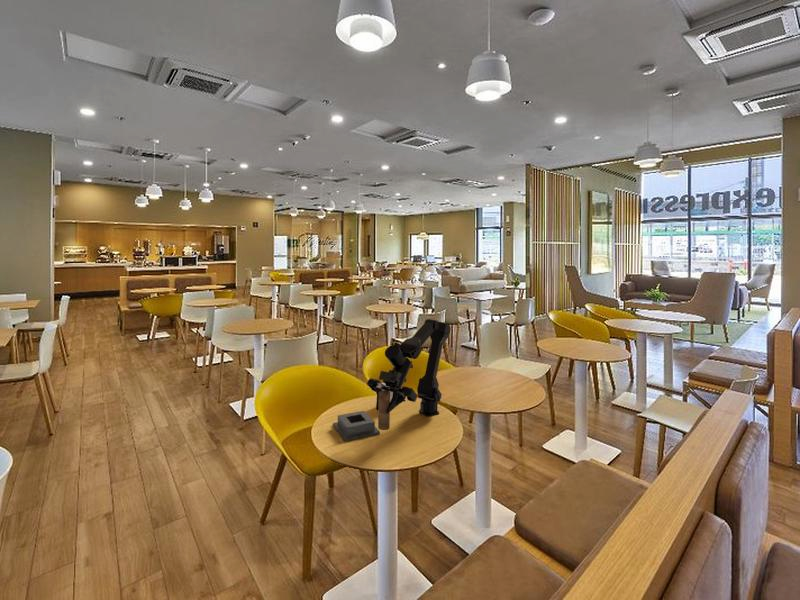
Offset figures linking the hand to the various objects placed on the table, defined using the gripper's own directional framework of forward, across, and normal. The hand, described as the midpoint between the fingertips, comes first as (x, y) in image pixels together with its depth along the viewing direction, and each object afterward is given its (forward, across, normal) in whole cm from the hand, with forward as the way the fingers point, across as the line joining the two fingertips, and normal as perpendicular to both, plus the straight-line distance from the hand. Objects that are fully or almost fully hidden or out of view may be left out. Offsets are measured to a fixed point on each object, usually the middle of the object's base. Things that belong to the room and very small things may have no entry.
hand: (381, 411), depth 144 cm
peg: (+4, 0, +6) cm, 7 cm away
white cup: (-10, -18, +30) cm, 37 cm away
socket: (+6, -16, +13) cm, 21 cm away
